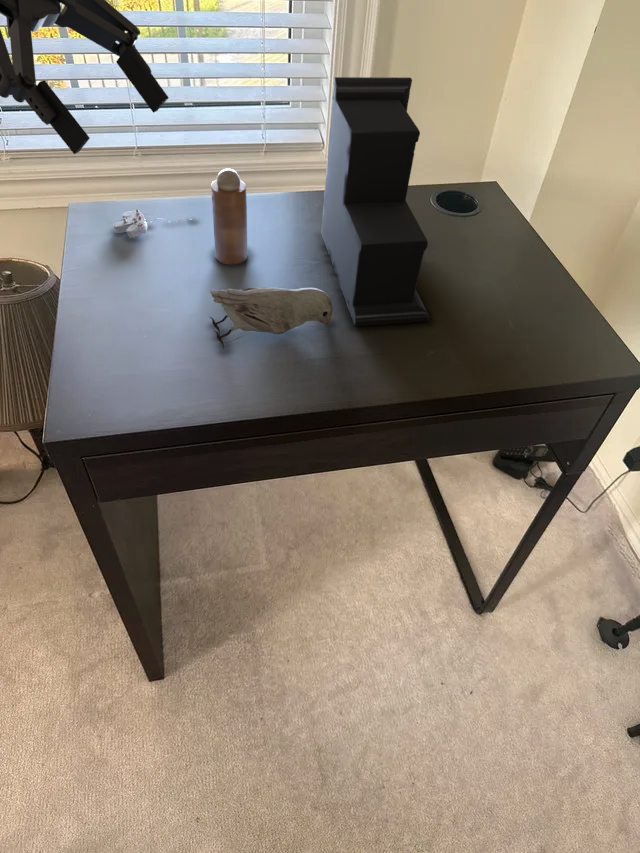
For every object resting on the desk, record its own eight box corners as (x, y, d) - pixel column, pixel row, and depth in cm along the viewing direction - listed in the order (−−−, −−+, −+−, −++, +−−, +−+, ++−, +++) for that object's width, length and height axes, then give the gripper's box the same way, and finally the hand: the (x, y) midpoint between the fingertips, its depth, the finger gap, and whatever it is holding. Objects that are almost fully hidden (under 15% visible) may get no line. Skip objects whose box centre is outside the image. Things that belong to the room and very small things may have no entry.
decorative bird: (336, 336, 85) (341, 289, 79) (215, 354, 81) (212, 305, 75) (324, 312, 88) (328, 265, 83) (208, 327, 84) (204, 279, 79)
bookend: (429, 322, 88) (470, 153, 71) (353, 328, 86) (376, 156, 69) (385, 232, 103) (410, 75, 86) (319, 235, 102) (331, 75, 84)
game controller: (108, 226, 99) (105, 210, 97) (174, 207, 105) (173, 192, 103) (126, 243, 96) (123, 227, 94) (192, 222, 102) (191, 207, 100)
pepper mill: (209, 258, 95) (203, 172, 85) (226, 243, 98) (222, 158, 88) (236, 268, 94) (233, 182, 84) (253, 252, 97) (252, 168, 87)
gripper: (-124, -79, 54) (57, 146, 61) (80, -109, 70) (205, 72, 77) (-140, -16, 59) (29, 184, 66) (53, -58, 75) (173, 108, 82)
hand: (124, 125), depth 71 cm, fingers open, 13 cm apart
